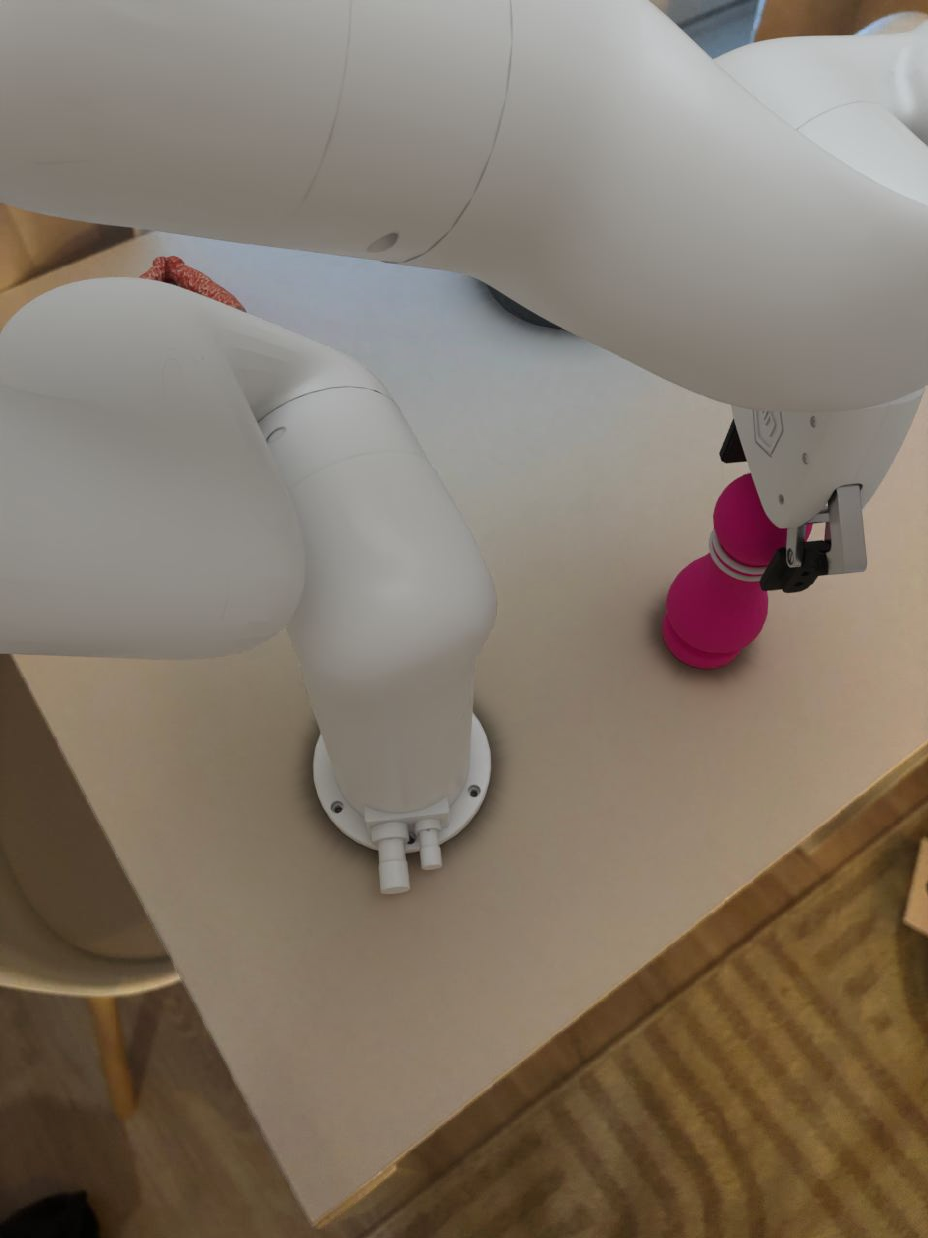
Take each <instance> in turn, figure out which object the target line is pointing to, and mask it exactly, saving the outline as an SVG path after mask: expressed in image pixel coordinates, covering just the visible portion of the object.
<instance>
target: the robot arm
mask: <svg viewBox="0 0 928 1238" xmlns="http://www.w3.org/2000/svg"><path fill="white" fill-rule="evenodd" d="M0 203H1V204H3V205H7V206H11V207H13V208H16V209H20V210H23V211H26V212H30V213H35V214H40V215H44V216H49V217H55V218H61V219H65V220H72V221H76V222H83V223H89V224H97V225H104V226H113V227H121V228H122V227H123V228H132V229H138V230H146V231H153V232H160V233H167V234H174V235H181V236H188V237H194V238H201V239H209V240H215V241H222V242H229V243H237V244H244V245H253V246H259V247H260V246H261V247H268V248H276V249H284V250H292V251H298V252H305V253H306V252H307V253H314V254H322V255H330V256H338V257H346V258H354V259H361V260H369V261H378V262H381V263H385V264H390V265H398V266H406V267H414V268H415V267H416V268H421V269H422V268H423V269H430V270H438V271H445V272H449V273H456V274H459V275H464V276H468V277H471V278H474V279H476V280H478V281H481V282H482V283H484V284H486V285H487V286H488V285H490V286H491V287H493V288H495V289H496V290H498V291H499V292H501V293H502V294H504V295H506V296H507V297H509V298H510V299H512V300H514V301H515V302H517V303H518V304H520V305H522V306H523V307H525V308H527V309H528V310H530V311H532V312H533V313H535V314H537V315H539V316H540V317H542V318H544V319H546V320H548V321H550V322H551V323H553V324H555V325H557V326H559V327H561V328H563V330H564V331H566V332H569V333H571V334H573V335H574V336H577V337H579V338H580V339H583V340H585V341H587V342H589V343H591V344H593V345H595V346H597V347H600V348H602V349H604V350H606V351H608V352H610V353H612V354H614V355H616V356H618V358H619V357H620V358H621V359H623V360H626V361H627V362H629V363H631V364H633V365H635V366H637V367H639V368H641V369H643V370H645V371H647V372H649V373H651V374H653V375H655V376H657V377H658V378H661V379H662V380H664V381H667V382H669V383H672V384H674V385H676V386H678V387H680V388H683V389H685V390H687V391H689V392H691V393H694V394H697V395H700V396H703V397H705V398H707V399H710V400H713V401H716V402H719V403H722V404H726V405H730V406H731V413H732V420H731V423H730V425H729V428H728V430H727V433H726V435H725V438H724V440H723V443H722V445H721V448H720V450H719V452H718V456H719V458H720V461H721V462H722V463H724V464H735V463H747V466H748V469H749V473H751V475H752V478H753V481H754V484H755V487H756V490H757V493H758V495H759V498H760V501H761V504H762V506H763V509H764V511H765V513H766V515H767V516H768V518H769V519H770V520H771V522H772V523H773V524H774V525H776V526H777V527H779V528H787V539H786V547H781V548H779V549H777V551H776V552H775V554H774V556H773V558H772V559H771V561H770V563H769V564H768V566H767V568H766V570H765V571H764V573H763V575H762V577H761V579H760V581H759V583H760V587H761V590H762V591H767V592H770V591H772V592H773V591H780V590H781V591H782V592H783V593H785V594H794V593H801V592H803V591H805V590H808V588H810V587H811V586H812V585H813V584H814V583H815V582H816V580H817V579H818V578H819V577H822V576H834V575H835V576H836V575H845V574H854V573H855V574H856V573H864V572H866V570H867V568H868V557H867V556H868V555H867V547H866V537H865V528H864V527H865V525H864V516H863V510H864V509H865V507H866V506H867V505H868V504H869V502H870V501H871V500H872V498H873V497H874V495H875V493H876V492H877V490H878V489H879V487H880V486H881V484H882V482H883V481H884V480H885V477H886V475H887V474H888V472H889V470H890V469H891V467H892V465H893V463H894V461H895V460H896V457H897V455H898V453H899V452H900V450H901V448H902V446H903V443H904V441H905V440H906V437H907V435H908V433H909V431H910V429H911V426H912V424H913V422H914V420H915V417H916V415H917V412H918V410H919V407H920V405H921V402H922V398H923V397H924V394H925V391H926V387H927V386H928V18H927V19H925V20H924V21H922V22H920V23H919V24H917V25H916V26H914V27H913V28H912V29H910V30H908V31H902V32H900V31H899V32H890V33H879V34H878V33H877V34H875V33H874V34H848V35H847V34H845V35H843V34H842V35H841V34H840V35H801V36H799V35H798V36H784V37H783V36H782V37H777V38H770V39H765V40H760V41H756V42H751V43H748V44H745V45H742V46H739V47H736V48H734V49H732V50H729V51H727V52H725V53H723V54H720V55H719V56H717V57H714V58H712V57H711V56H710V55H709V54H708V53H707V52H706V51H705V50H704V49H703V48H701V47H700V45H698V43H697V42H695V41H694V40H693V39H692V38H691V37H690V36H689V35H688V34H687V33H686V32H685V31H684V30H683V29H682V28H681V27H680V26H679V25H678V24H676V23H675V22H674V21H673V20H672V18H670V17H669V16H668V15H667V14H666V13H664V12H663V11H662V10H660V9H659V7H657V6H656V5H655V4H654V3H653V2H652V1H650V0H0ZM823 523H825V526H824V537H823V539H818V540H809V541H808V540H807V542H805V532H806V524H813V525H814V524H823ZM497 614H498V597H497V590H496V586H495V582H494V579H493V576H492V574H491V571H490V569H489V566H488V563H487V561H486V559H485V557H484V554H483V551H482V550H481V548H480V546H479V544H478V542H477V540H476V538H475V535H474V534H473V532H472V531H471V528H470V526H469V525H468V523H467V522H466V519H465V517H464V515H463V514H462V512H461V510H460V509H459V507H458V506H457V504H456V502H455V501H454V499H453V497H452V495H451V493H450V492H449V490H448V488H447V486H446V485H445V483H444V481H443V480H442V477H441V476H440V474H439V472H438V470H437V469H436V468H435V467H434V466H433V464H432V462H431V460H430V459H429V457H428V455H427V454H426V452H425V450H424V449H423V446H422V445H421V442H420V441H419V440H418V437H417V435H415V433H414V431H413V429H412V427H411V425H410V424H409V422H408V420H407V419H406V417H405V415H404V413H403V412H402V410H401V408H400V407H399V405H398V403H397V402H396V400H395V399H394V397H393V396H392V394H391V393H390V391H389V390H388V388H387V386H386V385H385V384H384V383H383V381H382V380H381V379H380V378H379V377H378V375H376V374H375V373H374V372H373V371H372V370H370V368H368V367H367V366H365V365H364V363H361V362H360V361H358V360H357V359H355V358H353V357H352V356H350V355H348V354H346V353H344V352H342V351H340V350H338V349H336V348H334V347H332V346H329V345H327V344H325V343H323V342H319V341H317V340H314V339H312V338H309V337H307V336H305V335H302V334H299V333H298V332H295V331H292V330H290V329H287V328H285V327H283V326H281V325H277V324H275V323H273V322H270V321H267V320H266V319H263V318H260V317H258V316H255V315H253V314H250V313H249V312H247V313H245V312H243V311H240V310H238V309H235V308H233V307H231V306H228V305H226V304H223V303H221V302H218V301H216V300H213V299H211V298H208V297H206V296H203V295H200V294H198V293H195V292H192V291H189V290H187V289H184V288H181V287H179V286H175V285H172V284H168V283H165V282H161V281H156V280H150V279H143V278H138V277H132V276H102V277H95V278H86V279H82V280H77V281H73V282H69V283H66V284H62V285H59V286H57V287H54V288H52V289H50V290H48V291H45V292H44V293H42V294H40V295H37V296H36V297H34V298H33V299H31V300H30V301H29V302H27V303H26V304H25V305H23V306H22V307H21V308H20V309H19V310H18V311H17V312H15V314H13V316H12V317H10V319H9V320H8V321H7V322H6V323H5V325H4V326H3V328H2V330H1V331H0V654H1V655H23V656H25V655H28V656H54V657H74V658H75V657H77V658H102V659H128V660H153V661H155V660H156V661H190V660H191V661H192V660H209V659H217V658H223V657H228V656H232V655H238V654H242V653H244V652H248V651H250V650H253V649H256V648H257V647H259V646H261V645H262V644H264V643H266V642H268V641H269V640H271V639H272V638H274V637H276V636H277V635H278V634H279V633H280V632H281V631H282V630H284V629H285V631H286V634H287V635H288V638H289V640H290V643H291V646H292V648H293V651H294V654H295V656H296V659H297V661H298V664H299V667H300V674H301V679H302V682H303V685H304V689H305V692H306V695H307V697H308V698H307V699H308V700H309V704H310V707H311V710H312V711H313V713H314V716H315V720H316V723H317V727H318V728H319V732H320V733H319V736H318V738H317V741H316V745H315V748H314V754H313V759H312V761H313V762H312V769H313V770H312V771H313V783H314V786H315V790H316V794H317V798H318V800H319V802H320V804H321V807H322V808H323V810H324V812H325V813H326V815H327V816H328V818H329V820H330V821H331V822H332V823H333V824H334V825H335V826H336V827H337V829H339V831H340V832H341V833H343V834H344V835H345V836H346V837H348V838H349V839H351V840H353V841H354V842H355V843H357V844H359V845H362V846H364V847H366V848H368V849H370V850H374V851H377V852H378V862H379V863H378V875H379V876H378V877H379V888H380V889H379V890H380V894H384V895H394V894H395V895H396V894H402V893H405V892H408V891H410V890H411V884H410V874H409V863H408V861H407V856H406V854H413V853H418V852H419V858H420V860H419V861H420V868H421V870H423V871H433V870H438V869H441V868H442V867H443V860H442V851H441V846H440V845H442V844H444V843H445V842H448V841H449V840H451V839H452V838H454V837H456V836H457V835H458V834H459V833H461V831H463V830H464V829H465V828H466V827H467V826H468V825H469V824H470V823H471V821H472V820H473V819H474V817H475V816H476V815H477V813H479V811H480V808H481V807H482V805H483V802H484V800H485V798H486V796H487V792H488V789H489V785H490V781H491V773H492V754H491V749H490V748H491V747H490V744H489V740H488V739H489V738H488V736H487V734H486V731H485V730H484V727H483V725H482V723H481V721H480V720H479V718H478V717H477V716H476V714H475V713H474V694H475V673H476V672H475V671H476V663H477V658H478V656H479V654H480V652H481V651H482V649H483V647H484V646H485V644H486V643H487V641H488V639H489V637H490V635H491V633H492V631H493V629H494V627H495V622H496V619H497V616H498V615H497ZM472 793H476V794H477V795H476V796H472V795H471V794H472ZM338 808H339V809H341V810H340V811H339V812H336V809H338ZM410 839H412V840H413V842H412V843H408V842H410Z"/></svg>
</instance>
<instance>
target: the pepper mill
mask: <svg viewBox="0 0 928 1238" xmlns="http://www.w3.org/2000/svg"><path fill="white" fill-rule="evenodd" d="M714 505H715V506H714V509H713V512H712V513H713V514H712V520H713V528H712V531H711V532H710V535H709V538H708V550H709V552H708V553H706V554H705V555H703V556H701V557H699V558H697V559H695V560H693V561H691V562H689V564H687V565H686V566H685V567H684V568H683V569H681V570H680V571H679V573H678V574H677V575H676V577H675V578H674V580H673V581H672V583H671V584H670V587H669V589H668V591H667V594H666V601H665V607H666V612H665V615H664V617H663V620H662V625H661V626H662V627H661V630H662V636H663V640H664V644H665V645H666V646H667V648H668V650H669V651H670V653H672V655H673V656H674V657H675V658H677V659H678V660H679V661H681V662H682V663H684V664H686V665H688V666H691V667H693V668H697V669H701V670H702V669H704V670H705V669H706V670H713V669H717V668H721V667H723V666H726V665H728V664H729V663H731V662H733V660H735V658H736V657H737V656H738V655H739V654H740V652H741V651H742V649H744V648H746V647H747V646H749V645H750V644H752V643H753V642H754V641H755V640H756V638H757V637H759V634H760V633H761V631H762V630H763V628H764V626H765V623H766V621H767V618H768V614H769V594H768V592H769V591H762V590H761V587H760V583H759V581H760V579H761V577H762V575H763V573H764V571H765V570H766V568H767V566H768V564H769V563H770V561H771V559H772V558H773V556H774V554H775V552H776V551H777V549H779V548H781V547H786V539H787V528H779V527H777V526H776V525H774V524H773V523H772V522H771V520H770V519H769V518H768V516H767V515H766V513H765V511H764V509H763V506H762V504H761V501H760V498H759V495H758V493H757V490H756V487H755V484H754V481H753V478H752V475H751V472H748V473H744V474H742V475H740V476H738V477H736V478H735V479H733V480H732V481H731V482H730V483H729V484H728V485H727V486H725V488H724V489H723V490H722V492H721V493H720V495H719V496H718V498H717V500H716V502H715V504H714ZM813 526H814V524H806V532H805V542H808V540H809V537H810V535H811V532H812V529H813Z"/></svg>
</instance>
